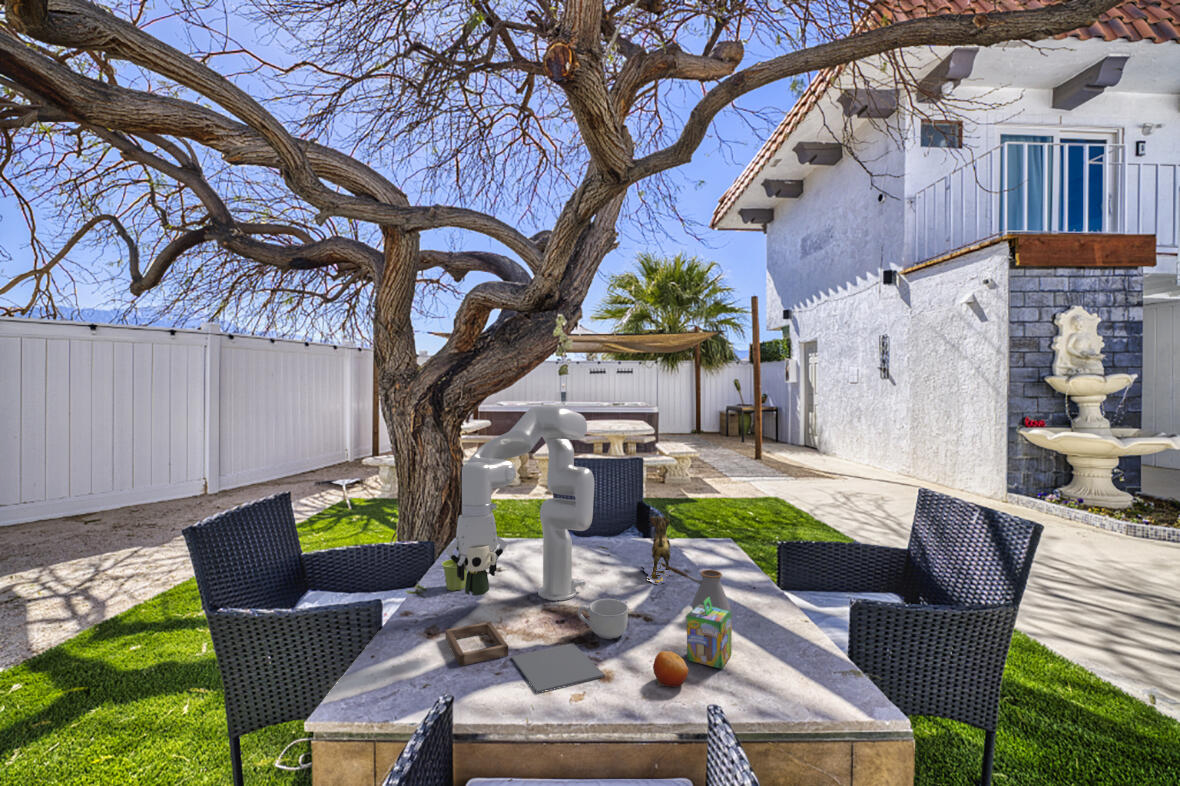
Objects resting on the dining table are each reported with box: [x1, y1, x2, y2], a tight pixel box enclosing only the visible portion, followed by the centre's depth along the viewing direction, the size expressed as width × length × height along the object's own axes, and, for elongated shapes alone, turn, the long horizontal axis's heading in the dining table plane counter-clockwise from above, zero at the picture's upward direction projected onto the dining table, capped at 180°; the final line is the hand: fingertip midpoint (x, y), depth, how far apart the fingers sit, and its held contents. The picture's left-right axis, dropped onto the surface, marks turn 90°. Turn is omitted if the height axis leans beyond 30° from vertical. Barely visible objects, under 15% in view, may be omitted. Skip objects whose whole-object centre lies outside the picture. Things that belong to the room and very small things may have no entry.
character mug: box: [463, 545, 496, 596], centre depth 147 cm, size 11×7×13 cm, turn 70°
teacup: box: [577, 598, 629, 640], centre depth 156 cm, size 14×11×8 cm
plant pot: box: [441, 558, 468, 592], centre depth 191 cm, size 9×9×9 cm
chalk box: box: [686, 596, 733, 670], centre depth 142 cm, size 9×9×15 cm
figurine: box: [647, 515, 671, 583], centre depth 207 cm, size 13×25×20 cm, turn 171°
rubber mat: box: [511, 642, 605, 694], centre depth 137 cm, size 17×18×1 cm
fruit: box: [652, 650, 689, 688], centre depth 130 cm, size 8×8×8 cm
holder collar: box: [445, 621, 509, 667], centre depth 147 cm, size 12×16×2 cm
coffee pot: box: [659, 562, 731, 611], centre depth 169 cm, size 21×12×15 cm, turn 79°
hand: (476, 576), depth 147 cm, fingers closed on character mug, 7 cm apart
